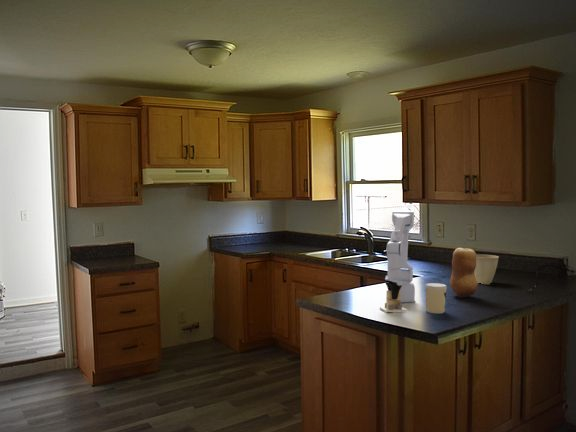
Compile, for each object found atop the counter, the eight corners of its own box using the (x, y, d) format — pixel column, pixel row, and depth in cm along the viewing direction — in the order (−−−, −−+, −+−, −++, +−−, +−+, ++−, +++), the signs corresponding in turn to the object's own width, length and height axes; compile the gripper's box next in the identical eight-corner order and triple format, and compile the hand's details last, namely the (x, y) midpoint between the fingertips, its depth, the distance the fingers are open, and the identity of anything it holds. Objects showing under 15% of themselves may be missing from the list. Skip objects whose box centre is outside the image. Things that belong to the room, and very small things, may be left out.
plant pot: (501, 286, 297) (501, 258, 296) (473, 285, 299) (474, 257, 298) (494, 281, 312) (494, 254, 311) (468, 280, 314) (468, 254, 313)
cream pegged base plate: (400, 308, 242) (400, 301, 241) (406, 311, 235) (407, 305, 235) (379, 309, 240) (380, 302, 239) (385, 312, 233) (386, 306, 233)
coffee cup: (449, 313, 232) (450, 286, 231) (428, 314, 231) (429, 287, 230) (441, 308, 241) (442, 282, 240) (421, 309, 240) (422, 283, 240)
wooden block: (398, 307, 239) (399, 290, 238) (400, 308, 237) (400, 290, 236) (386, 308, 237) (386, 290, 237) (388, 309, 236) (388, 291, 235)
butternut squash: (482, 299, 260) (483, 249, 259) (456, 300, 258) (457, 250, 257) (468, 294, 274) (469, 246, 273) (443, 294, 272) (445, 246, 271)
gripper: (379, 266, 242) (379, 295, 243) (392, 271, 228) (391, 302, 229) (393, 265, 244) (393, 294, 245) (407, 270, 230) (406, 301, 230)
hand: (393, 298), depth 237 cm, fingers closed on wooden block, 2 cm apart
